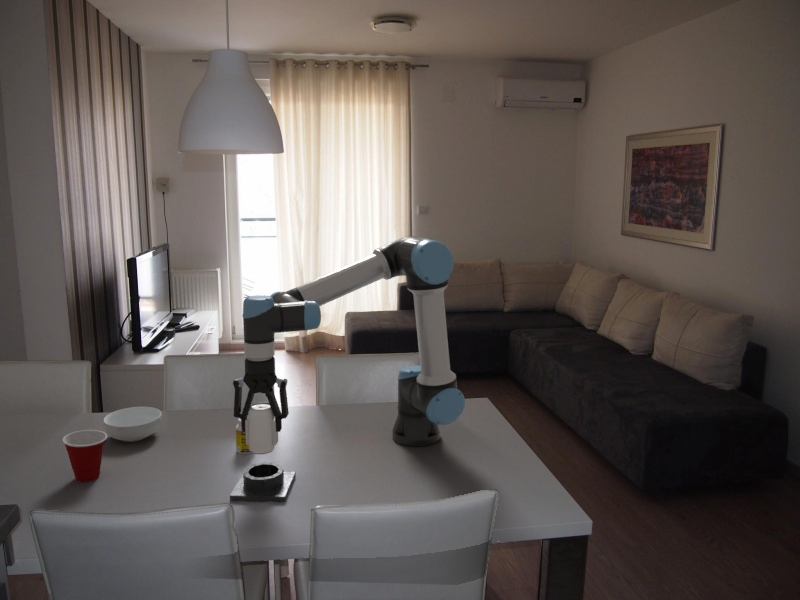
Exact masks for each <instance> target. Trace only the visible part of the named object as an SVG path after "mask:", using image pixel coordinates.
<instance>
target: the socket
mask: <svg viewBox="0 0 800 600" xmlns="http://www.w3.org/2000/svg"><path fill="white" fill-rule="evenodd" d="M296 476H297V475H296V471H284V468H283V466H282V465H281V464H279V463H275V462H267V461H266V462H264V461H262V462H258V463H253V464H251V465H250V466H247V467H245V469H244V471H243V473H242V474H241V476H240V477H239V480H238V481H237V483H236V484H235V486H234V488H233V489H232V491H231V493H230V495H229V502H251V503H252V502H253V503H256V502H257V503H286V501H287V499H288V497H289V496H288V495H289V493H290V491H291V490H292V486H293V484H294V482H295V479H296Z"/></svg>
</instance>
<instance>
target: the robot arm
mask: <svg viewBox="0 0 800 600" xmlns="http://www.w3.org/2000/svg"><path fill="white" fill-rule="evenodd" d="M454 264H455V263H454V256H453V253H452V252H451V249H449V247H448V246H447V245H446V244H445V243H443V242H441V241H439V240H436V239H433V238H425V237H418V236H415V235H414V236H411V235H410V236H405V237H402V238H399V239H396V240H394V241H391V242H390V243H387V244H384V245H383V246H380V247H378V248H375V249H374V250H373V252H372V254H370V255H368V256H366V257H363V258H361V259H358V260H356V261H354V262H351V263H350V264H347V265H345V266H342V267H340V268H338V269H336V270H334V271H331V272H329V273H326V274H324V275H322V276H319V277H318V278H314V279H313V280H310V281H307V282H306V283H304V284H300V285H299V286H296V287H294V288H292V289H290V290H286V291H276V292H274V293H272V294H270V295H258V294H257V295H250V296H247V297H246V298H245V299H244V300H243V301H242V302H243V303H242V304H243V305H242V320H243V323H242V324H243V351H244V353H243V355H244V357H245V359H244V376H243V377H237V378H235V379H234V380H233V381H232V385H233V388H234V399H233V402H234V403H233V417H234V418H238V419H239V418H240V419H241V425H242V431H245V433H246V444H248V445H249V424H248V412H249V409H250V405H251V404H253V400H254V397H255V394H259V393H261V394H265V397H266V398H267V401H268V403H269V404H270V406H271V409H272V412H273V414H274V420H273V421H272V426H273V445H275V446H276V445H277V444H278V442H279V433H280V432H281V430H282V420H283V419H284V420H285V419H287V418H288V415H289V414H290V413H289V412H290V411H289V406H288V405H289V403H288V395H287V385H288V379H287V378H283V379H282V378H278V376H277V374H276V358H275V357H274V356H275V352H276V351H275V333H276V334H278V333H280V334H281V333H291V332H302V331H304V332H307V331H310V330H316V329H319V327H320V326H321V321H322V312H321V308H320V307H321V306H323V305H325V304H327V303H330V302H332V301H335V300H338V299H339V298H341V297H343V296H346V295H349V294H351V293H352V292H355V291H357V290H360V289H362V288H363V287H366V286H368V285H371V284H373V283H376V282H378V281H380V280H382V279H384V280H386V281H387V280H390V279H393V278H396V277H400V276H402V277H405V279H406V288H407V290H408V291H409V292H411V294H413V295H412V296H413V306H414V315H415V325H416V326H415V327H416V332H417V333H416V335H417V336H416V337H417V346H418V357H419V365H409V366H404V367H402V368H400V369H399V371H398V377H397V416H396V419H395V420H394V421H395V422H394V424H393V428H392V440H394V441H395V442H396V443H398V444H400V445H403V446H407V447H426V446H431V445H434V444H436V443H437V442H439V440H440V439H441V431H440V430H441V429H440V427H439V426H449V425H450V424H452V423H455V422H456V421H457V420H458V419H459V418H460V416H461V415H462V414H463V412H464V410H465V406H466V398H465V396H464V394H463V392H462V391H461V390H460V389H458V385H457V384H458V383H457V374H456V373H455V372H453V371H452V370H451V362H450V352H449V351H450V350H449V341H448V329H447V328H448V327H447V316H446V315H447V314H446V306H445V304H446V303H445V294H444V292H445V290H446V289H447V288H448V286H449V278H450V277H451V274H452V273H453V270H454ZM244 383H245V385H246V387H248V392H247V395H246V396H247V397H246V399H245V403H244V406H243V409H242V398H243V397H242V396H243V386H244ZM275 384H276V385H277V388H278V389H279V399H280V406H279V403H278V401H277V399H276V396H275V391H274V388H273V387H274V385H275Z"/></svg>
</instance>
